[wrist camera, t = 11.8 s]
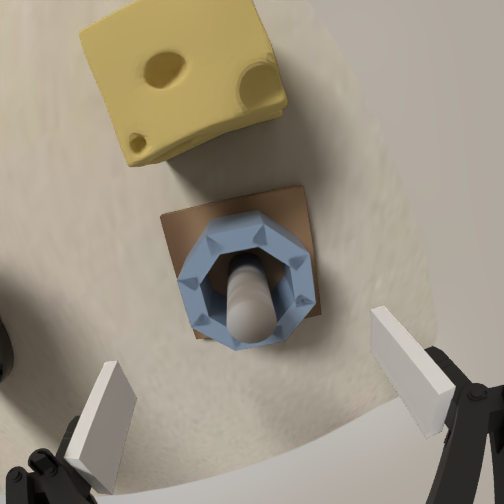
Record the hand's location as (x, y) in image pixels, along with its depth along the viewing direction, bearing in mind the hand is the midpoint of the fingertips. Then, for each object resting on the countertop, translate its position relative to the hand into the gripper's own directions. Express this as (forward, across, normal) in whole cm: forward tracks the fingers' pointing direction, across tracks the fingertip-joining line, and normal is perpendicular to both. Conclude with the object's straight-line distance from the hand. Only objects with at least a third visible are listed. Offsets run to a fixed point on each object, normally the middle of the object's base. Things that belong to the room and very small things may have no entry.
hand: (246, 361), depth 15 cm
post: (+14, +1, 0) cm, 14 cm away
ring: (+13, +1, 0) cm, 13 cm away
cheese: (+14, 0, +16) cm, 21 cm away
